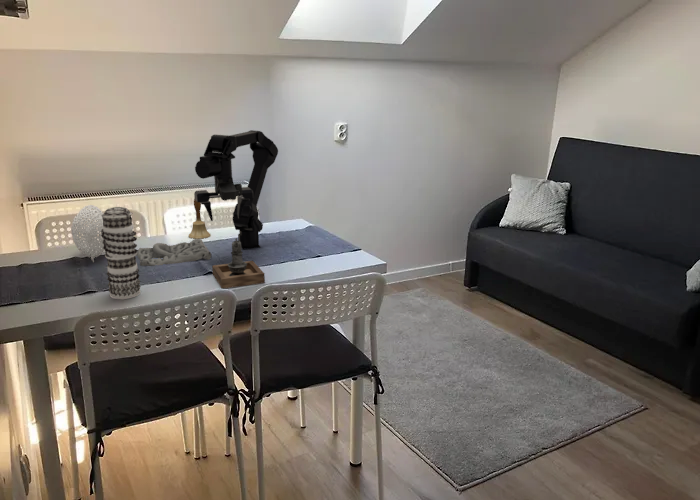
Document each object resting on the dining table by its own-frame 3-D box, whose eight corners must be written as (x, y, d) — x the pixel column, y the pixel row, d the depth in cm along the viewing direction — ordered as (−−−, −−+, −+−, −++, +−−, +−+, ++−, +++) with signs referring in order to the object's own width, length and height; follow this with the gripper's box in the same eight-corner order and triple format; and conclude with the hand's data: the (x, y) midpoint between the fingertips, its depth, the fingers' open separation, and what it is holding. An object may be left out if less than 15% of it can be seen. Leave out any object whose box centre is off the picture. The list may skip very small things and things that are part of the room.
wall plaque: (203, 245, 221) (202, 234, 219) (213, 261, 204) (212, 249, 203) (135, 252, 212) (134, 241, 210) (140, 269, 195) (139, 257, 194)
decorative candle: (100, 296, 171) (90, 211, 163) (123, 286, 179) (114, 203, 172) (126, 301, 168) (117, 214, 160) (148, 290, 176) (141, 207, 168)
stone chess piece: (248, 272, 189) (247, 235, 186) (245, 278, 184) (244, 241, 180) (230, 272, 189) (228, 235, 185) (226, 278, 184) (224, 240, 180)
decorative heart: (105, 265, 196) (100, 214, 191) (70, 267, 194) (63, 215, 189) (113, 248, 213) (108, 201, 208) (81, 250, 211) (75, 202, 206)
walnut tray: (253, 269, 195) (252, 260, 194) (264, 282, 183) (264, 273, 182) (212, 274, 190) (212, 265, 189) (222, 288, 178) (221, 279, 177)
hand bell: (210, 238, 227) (208, 197, 222) (187, 239, 225) (185, 197, 220) (210, 232, 235) (208, 192, 230) (188, 233, 233) (186, 193, 228)
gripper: (199, 179, 188) (202, 228, 193) (257, 176, 195) (259, 222, 200) (192, 173, 197) (195, 219, 202) (248, 170, 205) (250, 215, 210)
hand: (225, 219), depth 203 cm, fingers open, 9 cm apart
